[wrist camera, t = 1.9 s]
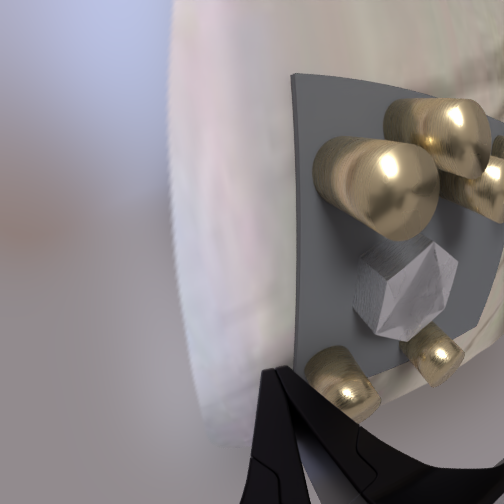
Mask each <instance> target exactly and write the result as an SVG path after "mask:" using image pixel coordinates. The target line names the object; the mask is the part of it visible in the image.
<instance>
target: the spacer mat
mask: <svg viewBox="0 0 504 504" xmlns="http://www.w3.org/2000/svg"><path fill="white" fill-rule="evenodd" d="M291 87H292V103H293V120H294V141H295V167H296V212H297V272H296V317H295V344H294V365H293V371H294V372H295V373H296V374H298V375H299V376H300V377H301V378H302V379H303V380H305V381H306V382H307V383H308V381H307V378H306V376H305V374H304V368H305V366H306V364H307V362H308V361H309V360H310V358H311V357H312V356H314V355H315V354H316V353H318V352H319V351H321V350H323V349H325V348H328V347H331V346H344V347H346V348H347V349H348V350H349V351H350V353H351V354H352V356H353V357H354V359H355V360H356V362H357V363H358V365H359V366H360V368H361V369H362V371H363V372H364V374H365V375H366V377H367V378H368V377H371V376H373V375H376V374H379V373H381V372H384V371H386V370H389V369H391V368H394V367H396V366H398V365H401V364H403V363H405V362H408V361H410V360H409V359H408V358H407V357H406V355H405V354H404V353H403V352H402V351H401V349H400V348H399V340H396V339H392V338H388V337H383V336H379V335H375V333H374V332H373V331H372V330H371V329H370V327H369V326H368V325H367V324H366V323H365V321H364V320H363V319H362V318H361V317H360V315H359V314H358V313H357V312H356V311H355V309H354V308H353V307H352V305H353V299H354V292H355V285H356V277H357V269H358V261H359V257H360V256H361V255H362V254H364V253H365V252H366V251H367V250H369V249H370V248H371V247H373V246H374V245H375V244H376V243H378V242H379V241H380V240H382V239H383V238H384V236H382V235H381V234H379V233H378V232H376V231H375V230H373V229H371V228H370V227H368V226H367V225H365V224H363V223H362V222H360V221H358V220H357V219H355V218H353V217H352V216H350V215H348V214H347V213H345V212H343V211H342V210H340V209H338V208H337V207H335V206H333V205H331V204H330V203H328V202H326V201H325V200H324V199H323V198H322V197H321V196H320V195H319V194H318V192H317V191H316V188H315V186H314V183H313V179H312V166H313V161H314V158H315V156H316V153H317V152H318V150H319V149H320V147H321V146H322V145H323V144H324V143H325V142H327V141H328V140H330V139H332V138H334V137H338V136H353V137H363V138H372V139H381V140H385V138H384V133H383V119H384V115H385V112H386V110H387V108H388V106H389V105H390V104H391V103H392V102H393V101H395V100H397V99H407V98H437V97H434V96H430V95H427V94H423V93H419V92H416V91H412V90H408V89H403V88H399V87H395V86H390V85H385V84H380V83H375V82H369V81H363V80H357V79H350V78H343V77H334V76H325V75H314V74H300V73H294V74H293V75H291ZM486 116H487V115H486ZM487 119H488V122H489V126H490V130H491V150H492V144H493V141H494V139H495V137H496V136H498V135H502V136H504V123H503V122H501V121H498V120H496V119H494V118H492V117H489V116H487ZM490 155H491V154H490ZM420 234H422V235H424V236H426V237H427V238H429V239H431V240H432V241H434V242H435V243H437V244H438V245H439V246H440V247H441V248H443V249H444V250H445V251H446V252H447V253H449V254H450V255H451V256H452V257H453V258H455V259H456V260H457V261H458V266H457V269H456V273H455V277H454V280H453V284H452V287H451V291H450V294H449V297H448V300H447V303H446V306H445V309H444V310H443V311H442V312H441V313H440V314H438V315H437V316H436V317H435V318H434V319H433V320H432V321H433V322H434V323H435V324H436V325H437V326H438V327H440V328H441V329H442V330H443V331H444V332H445V333H446V334H447V335H448V336H449V337H450V338H451V339H452V340H453V339H455V338H456V337H458V336H460V335H462V334H464V333H465V332H467V331H469V330H471V329H472V328H474V327H476V326H477V324H478V321H479V319H480V317H481V314H482V312H483V309H484V307H485V304H486V301H487V299H488V296H489V293H490V290H491V287H492V285H493V281H494V278H495V275H496V272H497V269H498V265H499V262H500V258H501V255H502V251H503V247H504V223H501V224H499V223H497V222H495V221H493V220H491V219H488V218H486V217H484V216H482V215H480V214H478V213H476V212H473V211H471V210H469V209H467V208H464V207H462V206H460V205H457V204H455V203H453V202H450V201H448V200H445V199H443V198H441V197H440V196H439V199H438V203H437V207H436V210H435V212H434V214H433V216H432V218H431V220H430V222H429V223H428V224H427V226H426V227H425V228H424V229H423V230H422V231H421V232H420ZM308 384H309V383H308Z"/></svg>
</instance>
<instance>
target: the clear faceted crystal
mask: <svg viewBox="0 0 504 504" xmlns="http://www.w3.org/2000/svg"><path fill="white" fill-rule="evenodd" d="M457 266H458V261H457V260H456V259H455V258H453V257H452V256H451V255H450V254H449V253H447V252H446V251H445V250H444V249H443V248H441V247H440V246H439V245H438V244H437V243H435V242H434V241H432V240H431V239H429V238H427V237H426V236H424V235H422V234H420V233H419V234H418V235H416V236H415V237H413V238H411V239H409V240H405V241H393V240H390V239H387V238H386V237H384V238H383V239H382V240H380V241H379V242H378V243H376V244H375V245H374V246H373V247H371V248H370V249H369V250H367V251H366V252H365V253H364V254H362V255H361V256H360V257H359V261H358V269H357V277H356V285H355V292H354V299H353V305H352V307H353V308H354V309H355V311H356V312H357V313H358V314H359V315H360V317H361V318H362V319H363V320H364V321H365V323H366V324H367V325H368V326H369V327H370V329H371V330H372V331H373V332H374V333H375V335H379V336H383V337H388V338H392V339H396V340H401V341H405V342H408V341H409V340H410V339H411V338H412V337H414V336H415V335H416V334H417V333H418V332H419V331H421V330H422V329H423V328H424V327H425V326H426V325H427V324H429V323H430V322H431V321H432V320H433V319H434V318H435V317H436V316H437V315H438V314H440V313H441V312H442V311H443V310H444V309H445V306H446V303H447V300H448V297H449V294H450V291H451V287H452V284H453V280H454V277H455V273H456V269H457Z"/></svg>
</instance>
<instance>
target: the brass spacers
mask: <svg viewBox="0 0 504 504" xmlns="http://www.w3.org/2000/svg"><path fill="white" fill-rule="evenodd" d="M383 133H384V138H385V140H381V139H372V138H363V137H353V136H338V137H334V138H332V139H330V140H328V141H327V142H325V143H324V144H323V145H322V146H321V147H320V149H319V150H318V152H317V153H316V156H315V158H314V161H313V166H312V179H313V183H314V186H315V188H316V191H317V192H318V194H319V195H320V196H321V197H322V198H323V199H324V200H325V201H326V202H328V203H330V204H331V205H333V206H335V207H337V208H338V209H340V210H342V211H343V212H345V213H347V214H348V215H350V216H352V217H353V218H355V219H357V220H358V221H360V222H362V223H363V224H365V225H367V226H368V227H370V228H371V229H373V230H375V231H376V232H378V233H379V234H381V235H382V236H384V237H386V238H387V239H390V240H393V241H405V240H409V239H411V238H413V237H415V236H416V235H418V234H419V233H420V232H421V231H422V230H423V229H424V228H425V227H426V226H427V224H428V223H429V222H430V220H431V218H432V216H433V214H434V212H435V210H436V207H437V203H438V199H439V196H440V197H441V198H443V199H445V200H448V201H450V202H453V203H455V204H457V205H460V206H462V207H464V208H467V209H469V210H471V211H473V212H476V213H478V214H480V215H482V216H484V217H486V218H488V219H491V220H493V221H495V222H497V223H499V224H501V223H504V136H502V135H498V136H496V137H495V139H494V141H493V144H492V150H491V130H490V126H489V122H488V119H487V116H486V114H485V112H484V111H483V109H482V108H481V106H480V105H479V104H478V103H477V102H475V101H473V100H471V99H452V98H407V99H397V100H395V101H393V102H392V103H391V104H390V105H389V106H388V108H387V110H386V112H385V115H384V119H383ZM490 154H491V155H490ZM399 348H400V349H401V351H402V352H403V353H404V354H405V355H406V357H407V358H408V359H409V360H410V361H411V363H412V364H413V365H414V366H415V367H416V369H417V370H418V371H419V372H420V374H421V375H422V376H423V377H424V378H425V380H426V381H427V382H428V383H429V385H430V386H431V387H437V386H439V385H441V384H442V383H443V382H445V381H446V380H447V379H448V378H449V377H450V376H451V375H453V373H454V372H455V371H456V370H457V369H458V367H459V366H460V364H461V363H462V361H463V359H464V356H465V352H464V351H463V350H462V349H461V348H460V347H459V346H458V345H457V344H456V343H455V342H454V341H453V340H452V339H451V338H450V337H449V336H448V335H447V334H446V333H445V332H444V331H443V330H442V329H441V328H440V327H438V326H437V325H436V324H435V323H434V322H433V321H431V322H430V323H429V324H427V325H426V326H425V327H424V328H423V329H422V330H421V331H419V332H418V333H417V334H416V335H415V336H414V337H412V338H411V339H410V340H409V341H408V342H405V341H401V340H399ZM304 374H305V376H306V378H307V381H308V383H309V385H311V386H312V387H313V388H314V389H315V390H317V391H318V392H319V393H320V394H321V395H323V396H324V397H325V398H326V399H327V400H329V401H330V402H331V403H332V404H334V405H335V406H336V407H337V408H339V409H340V410H341V411H342V412H344V413H345V414H346V415H347V416H349V417H350V418H351V419H352V420H354V421H355V422H356V423H358V424H359V423H360V422H362V421H364V420H365V419H367V418H368V417H369V416H371V415H372V414H373V413H374V412H375V411H376V410H377V408H378V407H379V405H380V403H381V398H380V397H379V395H378V394H377V392H376V390H375V389H374V387H373V386H372V384H371V383H370V381H369V380H368V378H367V377H366V375H365V374H364V372H363V371H362V369H361V368H360V366H359V365H358V363H357V362H356V360H355V359H354V357H353V356H352V354H351V353H350V351H349V350H348V349H347V348H346V347H344V346H331V347H328V348H325V349H323V350H321V351H319V352H318V353H316V354H315V355H314V356H312V357H311V358H310V360H309V361H308V362H307V364H306V366H305V368H304Z"/></svg>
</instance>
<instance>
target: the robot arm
mask: <svg viewBox="0 0 504 504" xmlns="http://www.w3.org/2000/svg"><path fill="white" fill-rule="evenodd" d="M301 461H302V462H301ZM302 464H303V466H304V468H305V470H306V472H307V474H308V477H309V478H310V481H311V483H312V485H313V487H314V489H315V491H316V493H317V495H318V497H319V500H320V502H321V504H504V459H503V460H501V461H500V462H499V463H498V464H496V465H495V466H494V467H493V468H484V469H483V468H482V469H455V468H454V469H453V468H452V469H451V468H438V467H433V466H430V465H427V464H424V463H422V462H420V461H418V460H416V459H414V458H411V457H410V456H408V455H406V454H404V453H402V452H400V451H398V450H396V449H395V448H393V447H391V446H389V445H388V444H386V443H384V442H383V441H381V440H379V439H378V438H376V437H375V436H374V435H372V434H371V433H369V432H368V431H367V430H366V429H364V428H363V427H362V426H360V427H359V424H358V423H356V422H355V421H354V420H352V419H351V418H350V417H349V416H347V415H346V414H345V413H344V412H342V411H341V410H340V409H339V408H337V407H336V406H335V405H334V404H332V403H331V402H330V401H329V400H327V399H326V398H325V397H324V396H323V395H321V394H320V393H319V392H318V391H317V390H315V389H314V388H313V387H312V386H311V385H309V384H308V383H307V382H306V381H305V380H303V379H302V378H301V377H300V376H299V375H298V374H296V373H295V372H294V371H293V370H292V369H291V368H290V367H288V366H286V365H284V366H279V367H276V368H275V369H274V368H270V369H265V370H262V372H261V379H260V388H259V396H258V404H257V411H256V419H255V427H254V434H253V442H252V449H251V458H250V463H249V469H248V475H247V480H246V484H245V487H244V491H243V495H242V498H241V501H240V504H311V502H310V498H309V494H308V489H307V485H306V480H305V476H304V471H303V466H302Z"/></svg>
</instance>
